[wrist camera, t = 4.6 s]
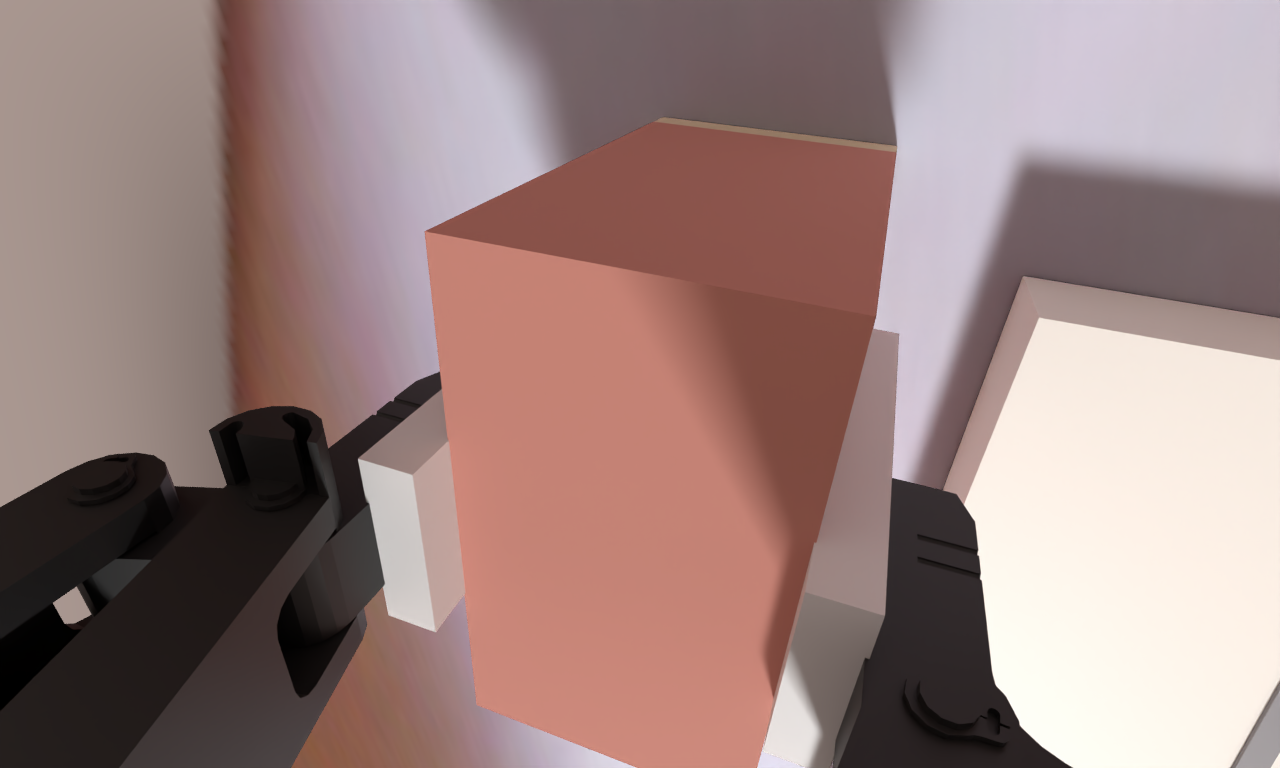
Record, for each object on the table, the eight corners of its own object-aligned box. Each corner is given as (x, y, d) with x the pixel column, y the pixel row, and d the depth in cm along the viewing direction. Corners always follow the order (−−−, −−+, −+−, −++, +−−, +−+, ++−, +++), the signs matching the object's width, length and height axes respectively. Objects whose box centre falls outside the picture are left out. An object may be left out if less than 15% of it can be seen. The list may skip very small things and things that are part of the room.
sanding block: (663, 117, 13) (424, 232, 7) (897, 146, 12) (877, 316, 6) (640, 441, 18) (476, 704, 11) (813, 486, 16) (746, 810, 10)
